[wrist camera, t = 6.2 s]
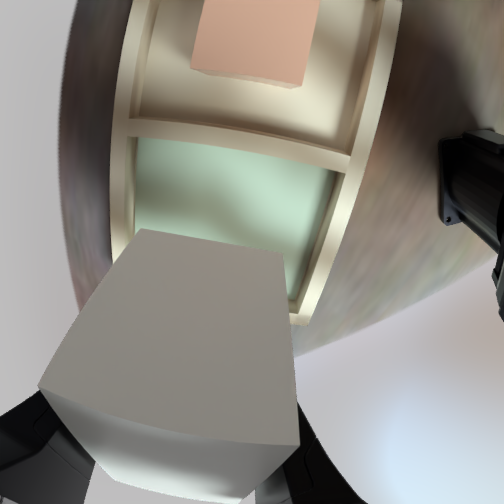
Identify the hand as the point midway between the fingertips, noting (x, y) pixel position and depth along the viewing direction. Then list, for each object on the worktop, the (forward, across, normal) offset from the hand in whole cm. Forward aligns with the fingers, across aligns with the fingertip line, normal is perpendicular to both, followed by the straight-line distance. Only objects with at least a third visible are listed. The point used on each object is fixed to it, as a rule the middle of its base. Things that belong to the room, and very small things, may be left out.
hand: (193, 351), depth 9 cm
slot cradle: (+11, 0, -5) cm, 12 cm away
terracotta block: (+10, 0, -11) cm, 15 cm away
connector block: (+2, 0, 0) cm, 2 cm away
